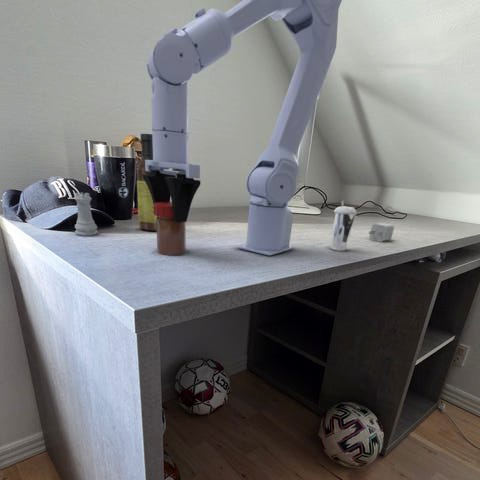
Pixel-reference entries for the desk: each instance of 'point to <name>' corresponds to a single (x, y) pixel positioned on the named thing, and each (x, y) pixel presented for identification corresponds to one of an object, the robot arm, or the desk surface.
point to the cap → (163, 209)
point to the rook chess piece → (84, 216)
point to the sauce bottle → (145, 187)
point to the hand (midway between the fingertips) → (170, 218)
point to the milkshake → (342, 226)
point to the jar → (170, 236)
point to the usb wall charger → (381, 232)
